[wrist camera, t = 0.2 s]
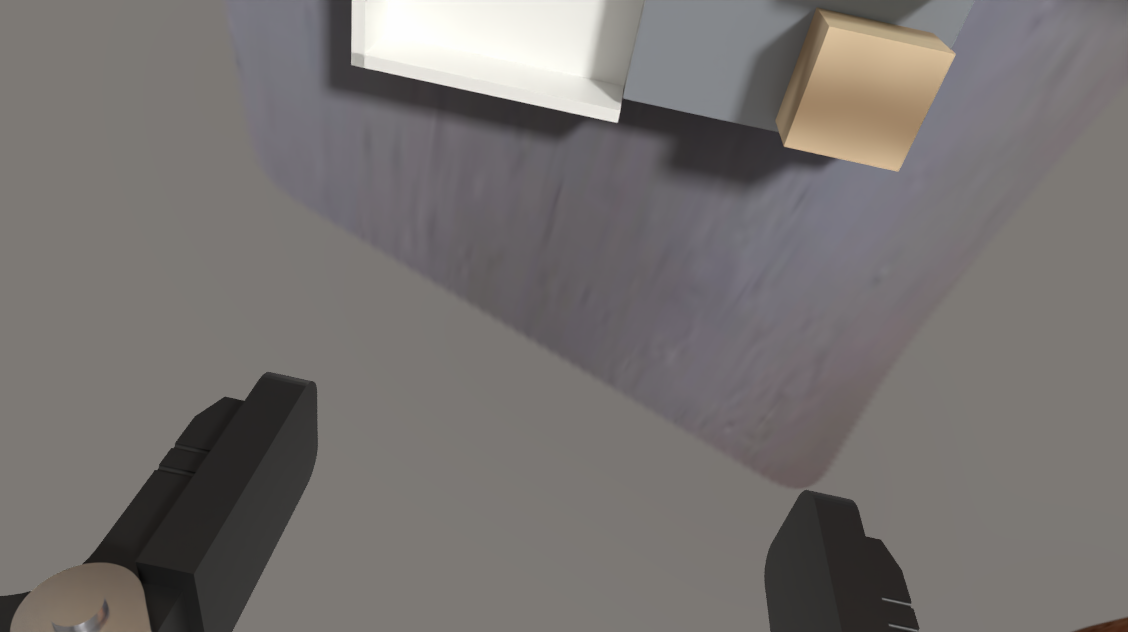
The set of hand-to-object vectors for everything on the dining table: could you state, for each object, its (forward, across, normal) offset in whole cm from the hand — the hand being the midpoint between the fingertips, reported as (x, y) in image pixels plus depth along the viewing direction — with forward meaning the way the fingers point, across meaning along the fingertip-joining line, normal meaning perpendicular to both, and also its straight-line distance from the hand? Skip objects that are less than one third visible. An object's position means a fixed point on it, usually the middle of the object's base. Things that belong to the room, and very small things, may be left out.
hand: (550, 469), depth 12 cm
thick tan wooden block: (+25, -10, 0) cm, 27 cm away
